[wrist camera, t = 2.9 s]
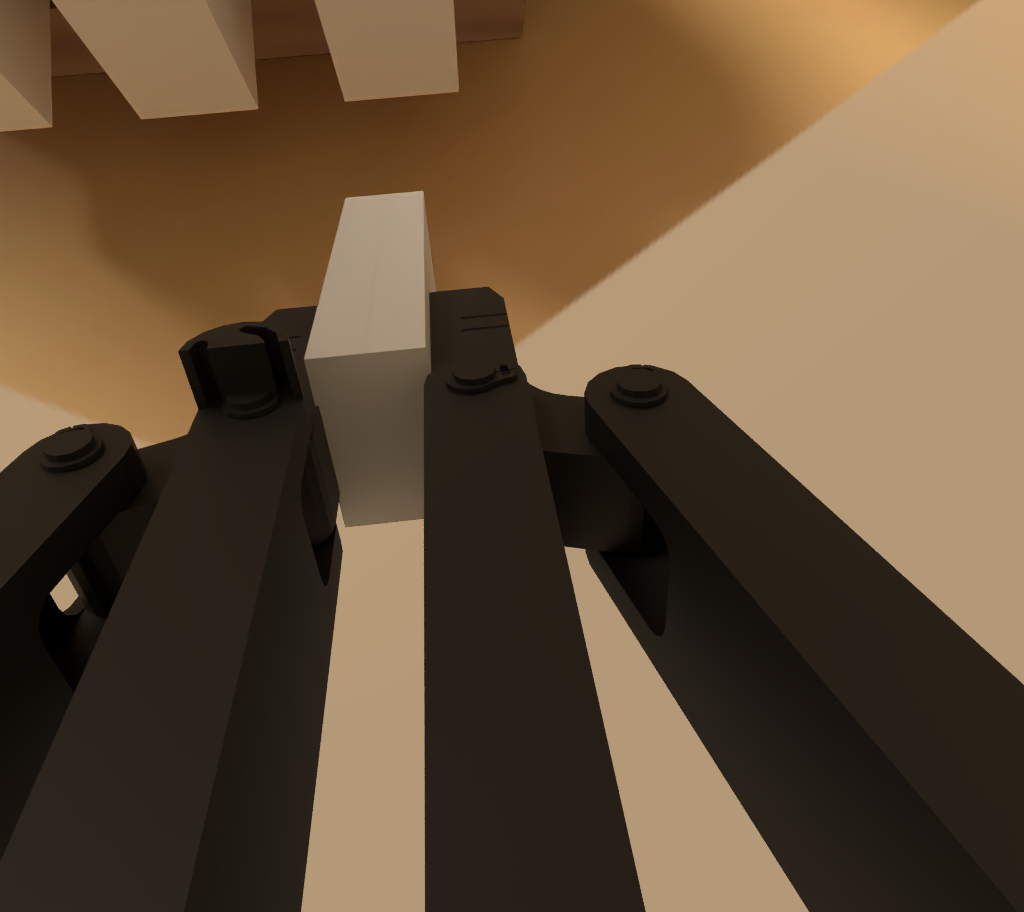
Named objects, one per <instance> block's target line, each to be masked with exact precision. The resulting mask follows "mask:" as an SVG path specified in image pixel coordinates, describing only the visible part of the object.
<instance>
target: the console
mask: <svg viewBox="0 0 1024 912" xmlns="http://www.w3.org/2000/svg"><path fill="white" fill-rule="evenodd" d="M453 1H454V17H455V33H456V43H458V42H470V41H482V40H493V39H505V38H517V37H522V35H523V18H524V2H525V0H453ZM251 10H252V25H253V39H254V53H255V59H267V58H279V57H291V56H303V55H315V54H327V53H330V50H329V47H328V44H327V40H326V37H325V34H324V30H323V27H322V24H321V20H320V17H319V14H318V10H317V7H316V4H315V0H251ZM50 35H51V77H53V76H65V75H76V74H88V73H100V72H105V70H104V69H103V68H102V66H101V65H100V64H99V62H98V61H97V60H96V58H95V57H94V56H93V55H92V53H91V52H90V51H89V49H88V48H87V47H86V45H85V44H84V43H83V41H82V40H81V39H80V37H79V36H78V35H77V33H76V32H75V31H74V29H73V28H72V27H71V25H70V24H69V23H68V21H67V20H66V19H65V17H64V16H63V15H62V13H61V12H60V11H59V9H58V8H57V7H56V5H55V4H54V3H53V1H52V0H50Z"/></svg>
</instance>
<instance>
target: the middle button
mask: <svg viewBox="0 0 1024 912" xmlns="http://www.w3.org/2000/svg"><path fill="white" fill-rule="evenodd" d="M52 1H53V3H54V4H55V5H56V7H57V8H58V9H59V11H60V12H61V13H62V15H63V16H64V17H65V19H66V20H67V21H68V23H69V24H70V25H71V27H72V28H73V29H74V31H75V32H76V33H77V35H78V36H79V37H80V39H81V40H82V41H83V43H84V44H85V45H86V47H87V48H88V49H89V51H90V52H91V53H92V55H93V56H94V57H95V58H96V60H97V61H98V62H99V64H100V65H101V66H102V68H103V69H104V70H105V72H106V73H107V74H108V76H109V77H110V78H111V80H112V81H113V82H114V84H115V85H116V86H117V88H118V89H119V90H120V92H121V93H122V94H123V96H124V97H125V98H126V100H127V101H128V102H129V104H130V105H131V106H132V108H133V109H134V110H135V112H136V113H137V114H138V116H139V117H140V118H141V119H152V118H164V117H175V116H187V115H198V114H210V113H221V112H233V111H244V110H256V109H258V97H257V82H256V68H255V53H254V39H253V25H252V10H251V0H52Z"/></svg>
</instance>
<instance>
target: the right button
mask: <svg viewBox="0 0 1024 912" xmlns="http://www.w3.org/2000/svg"><path fill="white" fill-rule="evenodd" d="M315 4H316V7H317V10H318V14H319V17H320V20H321V24H322V27H323V30H324V34H325V37H326V40H327V44H328V47H329V50H330V54H331V57H332V60H333V64H334V67H335V70H336V74H337V77H338V80H339V84H340V87H341V90H342V93H343V97H344V100H345V102H348V101H359V100H371V99H382V98H394V97H405V96H417V95H428V94H440V93H451V92H459V82H458V66H457V50H456V33H455V17H454V1H453V0H315Z"/></svg>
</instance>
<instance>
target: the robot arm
mask: <svg viewBox="0 0 1024 912" xmlns="http://www.w3.org/2000/svg"><path fill="white" fill-rule="evenodd" d="M178 352H179V355H180V358H181V361H182V364H183V367H184V369H185V372H186V375H187V378H188V381H189V384H190V386H191V389H192V392H193V395H194V398H195V401H196V403H197V406H198V409H199V410H198V412H197V414H196V416H195V419H194V421H193V423H192V426H191V428H190V430H189V432H188V434H187V435H185V436H182V437H179V438H176V439H173V440H169V441H166V442H162V443H159V444H155V445H151V446H148V447H144V448H141V449H137V447H136V445H135V443H134V440H133V438H132V435H131V433H130V432H129V431H127V430H126V429H124V428H123V427H122V426H119V425H113V424H107V423H100V424H81V425H77V426H73V428H71V427H68V428H65V429H62V430H59V431H57V432H56V433H55V434H53V435H51V436H49V437H46V438H44V439H42V440H40V441H39V442H37V443H36V444H34V445H33V446H31V447H30V448H29V449H27V450H26V451H24V452H23V453H22V454H21V455H20V456H18V457H17V458H16V459H15V460H14V461H13V462H12V463H11V464H10V465H8V466H7V467H6V468H5V469H4V470H3V471H2V472H1V473H0V912H301V906H302V898H303V888H304V879H305V872H306V863H307V855H308V846H309V837H310V829H311V820H312V811H313V802H314V794H315V786H316V777H317V768H318V759H319V751H320V742H321V733H322V724H323V716H324V708H325V699H326V691H327V682H328V673H329V665H330V656H331V648H332V639H333V630H334V622H335V613H336V604H337V596H338V587H339V579H340V570H341V561H342V552H343V551H342V545H341V540H340V536H339V532H338V528H337V524H336V518H337V510H338V503H340V507H341V511H342V515H343V520H344V524H345V527H352V526H361V525H370V524H379V523H388V522H398V521H407V520H416V519H424V655H425V656H424V657H425V658H424V670H425V672H424V679H425V680H424V681H425V683H424V686H425V912H646V911H645V907H644V902H643V898H642V894H641V889H640V884H639V881H638V876H637V871H636V867H635V862H634V858H633V853H632V849H631V844H630V840H629V835H628V831H627V826H626V822H625V817H624V813H623V808H622V804H621V799H620V795H619V790H618V786H617V782H616V777H615V772H614V768H613V764H612V759H611V755H610V750H609V746H608V741H607V737H606V732H605V728H604V723H603V719H602V714H601V710H600V706H599V701H598V696H597V692H596V687H595V683H594V678H593V674H592V669H591V665H590V661H589V656H588V652H587V648H586V643H585V638H584V634H583V629H582V625H581V620H580V616H579V611H578V607H577V603H576V598H575V593H574V589H573V584H572V580H571V575H570V571H569V566H568V562H567V557H566V554H565V548H564V546H566V547H574V548H582V549H586V554H587V558H588V560H589V563H590V565H591V567H592V569H593V570H594V572H595V573H596V575H597V577H598V578H599V579H600V581H601V583H602V584H603V586H604V588H605V589H606V591H607V592H608V594H609V596H610V597H611V599H612V600H613V602H614V603H615V605H616V606H617V608H618V610H619V611H620V613H621V614H622V616H623V618H624V619H625V621H626V622H627V624H628V626H629V627H630V629H631V630H632V632H633V634H634V635H635V637H636V638H637V640H638V641H639V643H640V645H641V646H642V648H643V649H644V651H645V652H646V654H647V656H648V657H649V659H650V660H651V662H652V664H653V665H654V667H655V668H656V670H657V671H658V673H659V675H660V676H661V678H662V679H663V681H664V683H665V684H666V686H667V687H668V689H669V690H670V692H671V694H672V695H673V697H674V698H675V700H676V702H677V703H678V705H679V706H680V708H681V709H682V711H683V712H684V714H685V716H686V717H687V719H688V721H689V722H690V724H691V725H692V727H693V728H694V730H695V732H696V733H697V735H698V736H699V738H700V739H701V741H702V743H703V744H704V746H705V747H706V749H707V751H708V752H709V754H710V755H711V757H712V758H713V760H714V762H715V763H716V765H717V766H718V768H719V770H720V771H721V773H722V774H723V776H724V778H725V779H726V781H727V782H728V784H729V785H730V787H731V789H732V790H733V792H734V793H735V795H736V796H737V798H738V800H739V801H740V802H741V804H742V806H743V807H744V809H745V811H746V812H747V814H748V816H749V817H750V819H751V820H752V822H753V823H754V825H755V827H756V828H757V830H758V831H759V833H760V834H761V836H762V838H763V839H764V841H765V842H766V844H767V846H768V847H769V849H770V850H771V852H772V854H773V855H774V857H775V858H776V860H777V861H778V863H779V865H780V866H781V868H782V869H783V871H784V873H785V874H786V876H787V877H788V879H789V880H790V882H791V884H792V885H793V887H794V888H795V890H796V892H797V893H798V895H799V896H800V898H801V899H802V901H803V902H804V904H805V906H806V907H807V909H808V911H809V912H1024V685H1023V684H1022V683H1021V682H1020V681H1019V680H1018V679H1017V678H1016V677H1014V676H1013V675H1012V674H1011V673H1010V672H1009V671H1008V670H1007V669H1006V668H1004V667H1003V666H1002V665H1001V664H1000V663H999V662H998V661H997V660H996V659H995V658H993V657H992V656H991V655H990V654H989V653H988V652H987V651H986V650H985V649H984V648H982V647H981V646H980V645H979V644H978V643H977V642H976V641H975V640H974V639H972V638H971V637H970V636H969V635H968V634H967V633H966V632H965V631H964V630H962V629H961V628H960V627H959V626H958V625H957V624H956V623H955V622H953V620H951V619H950V618H949V617H948V616H947V615H946V614H945V613H944V612H943V611H942V610H940V609H939V608H938V607H937V606H936V605H935V604H934V603H933V602H932V601H931V600H929V599H928V598H927V597H926V596H925V595H924V594H923V593H922V592H920V591H919V590H918V589H917V588H916V587H915V586H914V585H913V584H912V583H911V582H910V581H908V580H907V579H906V578H905V577H904V576H903V575H902V574H901V573H899V572H898V571H897V570H896V569H895V568H894V567H893V566H892V565H891V564H890V563H889V562H887V561H886V560H885V559H884V558H883V557H882V556H881V555H880V554H879V553H877V552H876V551H875V550H874V549H873V548H872V547H871V546H870V545H869V544H868V543H866V542H865V541H864V540H863V539H862V538H861V537H860V536H859V535H858V534H856V533H855V532H854V531H853V530H852V529H851V528H850V527H849V526H848V525H847V524H845V523H844V522H843V521H842V520H841V519H840V518H839V517H838V516H837V515H835V514H834V513H833V512H832V511H831V510H830V509H829V508H828V507H827V506H826V505H824V504H823V503H822V502H821V501H820V500H819V499H818V498H817V497H816V496H814V495H813V494H812V493H811V492H810V491H809V490H808V489H807V488H806V487H805V486H803V485H802V484H801V483H800V482H799V481H798V480H797V479H796V478H795V477H793V476H792V475H791V474H790V473H789V472H788V471H787V470H786V469H785V468H784V467H782V466H781V465H780V464H779V463H778V462H777V461H776V460H775V459H774V458H772V457H771V456H770V455H769V454H768V453H767V452H766V451H765V450H764V449H763V448H761V447H760V446H759V445H758V444H757V443H756V442H754V440H753V439H751V438H750V437H749V436H748V435H747V434H746V433H745V432H744V431H743V430H741V429H740V428H739V427H738V426H737V425H736V424H735V423H734V422H733V421H732V420H731V419H729V418H728V417H727V416H726V415H725V414H724V413H723V412H722V411H721V410H719V409H718V408H717V407H716V406H715V405H714V404H713V403H712V402H711V401H710V400H708V399H707V398H706V397H705V396H704V395H703V394H702V393H701V392H699V391H698V390H697V389H696V388H695V387H694V386H693V385H692V384H691V383H690V382H689V381H687V380H686V379H684V378H683V377H681V376H679V375H678V374H676V373H675V372H672V371H669V370H665V369H662V368H658V367H655V366H651V365H644V366H641V365H629V366H624V367H616V368H613V369H610V370H607V371H605V372H602V373H599V374H598V375H597V376H595V377H594V378H593V379H592V380H590V381H589V382H588V384H587V387H586V390H585V393H584V397H577V396H566V395H559V394H553V393H550V392H546V391H543V390H540V389H538V388H536V387H534V386H532V385H530V384H529V383H528V382H527V378H526V375H525V373H524V372H523V370H522V368H521V367H520V366H519V365H518V363H517V358H516V353H515V349H514V344H513V339H512V335H511V330H510V327H509V321H508V316H507V312H506V307H505V303H504V298H503V297H501V296H500V295H499V294H497V293H496V292H495V291H493V290H492V289H491V288H489V287H481V288H471V289H461V290H450V291H440V292H436V287H435V279H434V271H433V263H432V255H431V248H430V240H429V232H428V224H427V216H426V208H425V200H424V192H423V191H415V192H404V193H393V194H382V195H371V196H360V197H349V198H345V202H344V206H343V210H342V214H341V218H340V221H339V225H338V229H337V233H336V237H335V241H334V245H333V249H332V252H331V256H330V260H329V264H328V268H327V272H326V276H325V280H324V283H323V287H322V291H321V295H320V299H319V303H318V306H310V307H300V308H290V309H280V310H276V311H275V312H273V313H272V314H271V315H270V316H269V317H267V318H266V319H265V320H264V321H263V322H241V323H236V324H230V325H225V326H221V327H218V328H215V329H212V330H209V331H206V332H203V333H201V334H200V335H198V336H196V337H194V338H193V339H191V340H189V341H187V342H186V344H185V345H184V346H183V347H182V348H181V349H180V350H179V351H178ZM66 574H67V576H68V577H69V579H70V581H71V582H72V585H73V586H74V588H75V590H76V592H77V594H78V595H79V596H78V598H77V599H76V600H75V601H74V603H73V604H72V605H71V606H70V607H69V608H68V609H66V610H65V611H64V612H62V611H61V610H60V609H59V608H58V607H57V605H56V603H55V602H54V600H53V598H52V596H51V595H50V592H51V591H52V590H53V589H54V587H55V586H56V585H57V584H58V583H59V582H60V581H61V579H62V578H63V577H64V576H65V575H66Z"/></svg>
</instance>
